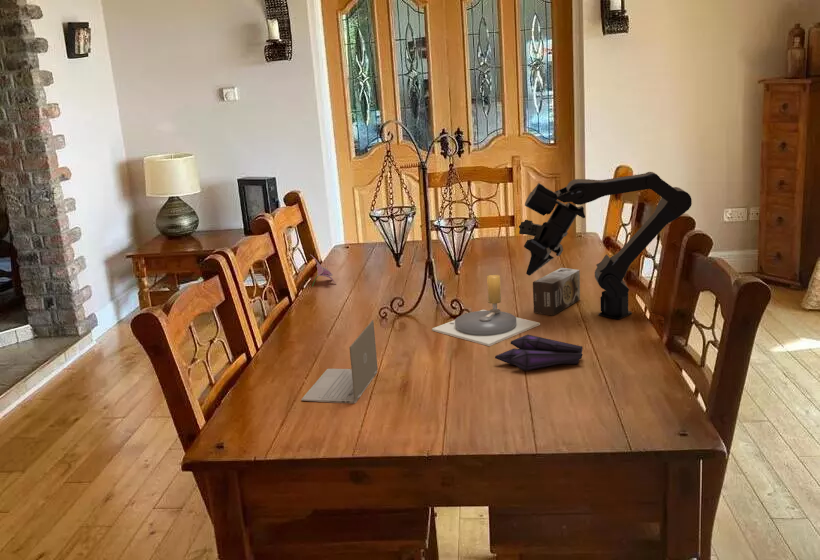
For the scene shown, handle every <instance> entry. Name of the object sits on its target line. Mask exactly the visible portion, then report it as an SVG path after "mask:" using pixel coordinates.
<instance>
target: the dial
mask: <svg viewBox="0 0 820 560" xmlns="http://www.w3.org/2000/svg"><path fill="white" fill-rule="evenodd" d="M486 279H487V280H486V281H487V302H488V304H491V305H492V309H490V310H487V311H480V310H476V311H470V312H466V313H463V314H461V315H459V316H457V317H456V318H455V319H456V320H455V319H454V320H455V327H456V329H457V330H458V331H460V332H463V333H466V334H472V335H493V334H500V333H504V332H507V331H510V330H512V329H513V328H515V327H516V317H517V316H515V315H514V314H512V313H510V312H507V311H502V310H500V308H498V304H500V303H502V294H501V293H502V292H501V291H502V289H501V275H500V274H490V275H487V276H486Z"/></svg>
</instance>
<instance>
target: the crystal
mask: <svg viewBox="0 0 820 560" xmlns="http://www.w3.org/2000/svg"><path fill="white" fill-rule="evenodd" d="M509 344H510V345H512V346H514V347H515V348H512V349H509V350H506V351H503V352H502V353H499V354H496V355H495V357H494V359H496V360H497V361H501V362H503V363H506V364H508V365H514V366H516V367H517V368H519V369H520V370H522V371H525V372H526V371H532V370H537V369H541V368H546V367H550V366H556V365H578V364H579V363H580V360H582V357H583V356H584V354H583V347H584V346H582V345H577V344H572V343H568V342H564V341H559V340H556V339H555V340H554V339H549V338H546V337H542V336H537V335H532V334H526V335H523V336H520V337H518V338H515V339H513V340H511V341H510V343H509Z"/></svg>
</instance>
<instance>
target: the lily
mask: <svg viewBox="0 0 820 560" xmlns="http://www.w3.org/2000/svg"><path fill="white" fill-rule="evenodd" d="M309 255H310V256H311V257H312V258H313V259H314V260H315V262H316V263H317V264H316V268H317V275H316V277H315V279H314V280H313V282H312V285H311V286H312V287H314V285H315V282H316V280H317V278H319V277H326V278H328V279H331V281H333V282H334V283H336V281H335V280H334V279H333V277H332V276H334V275H333V273H332V272H331V271H330V269H328V268H329V267H327V266H325V267H324V266H322V265H321V264H320V263H319V261H318V260H317V259H316V258H315V257H314V256H313V255H312V254H311V253H310V254H309Z"/></svg>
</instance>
